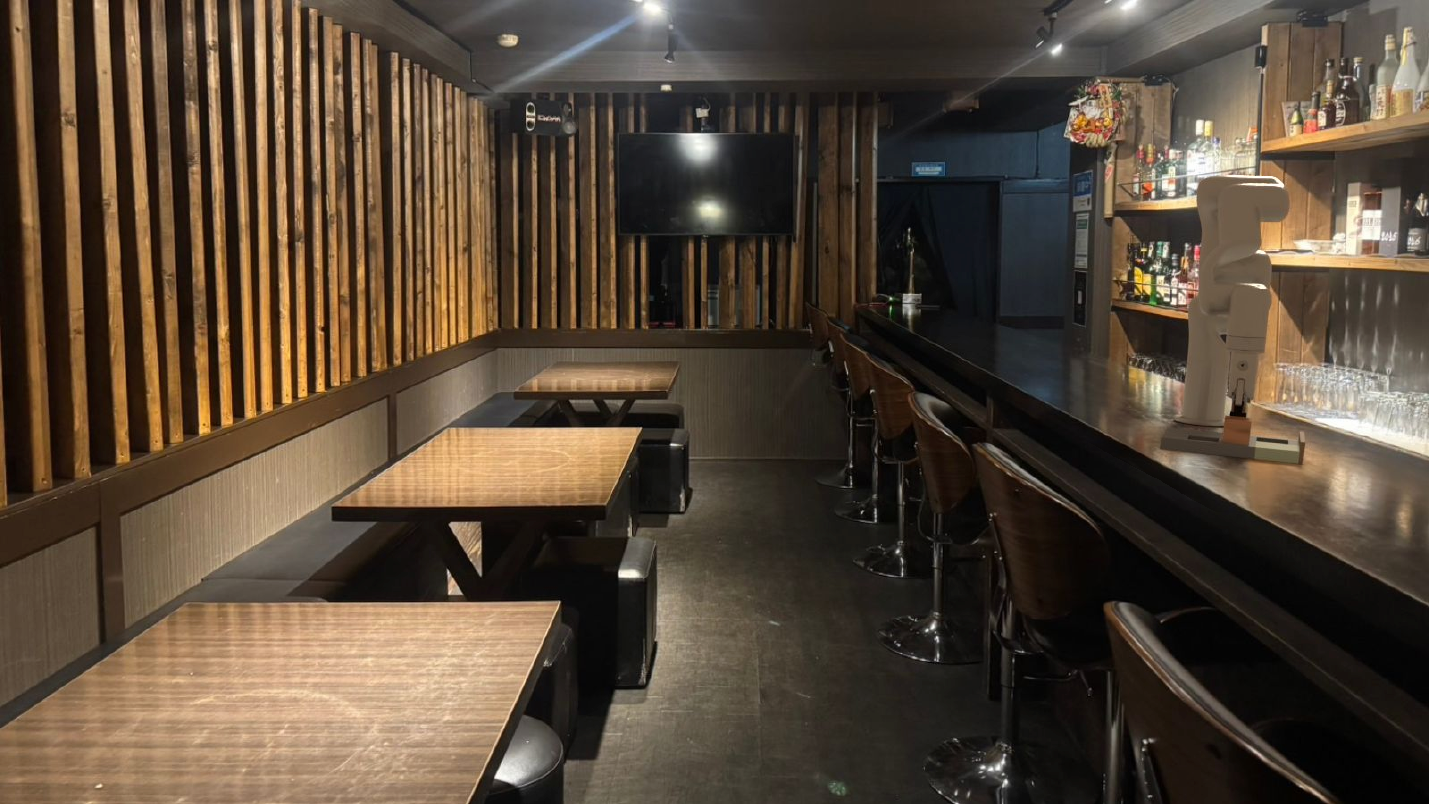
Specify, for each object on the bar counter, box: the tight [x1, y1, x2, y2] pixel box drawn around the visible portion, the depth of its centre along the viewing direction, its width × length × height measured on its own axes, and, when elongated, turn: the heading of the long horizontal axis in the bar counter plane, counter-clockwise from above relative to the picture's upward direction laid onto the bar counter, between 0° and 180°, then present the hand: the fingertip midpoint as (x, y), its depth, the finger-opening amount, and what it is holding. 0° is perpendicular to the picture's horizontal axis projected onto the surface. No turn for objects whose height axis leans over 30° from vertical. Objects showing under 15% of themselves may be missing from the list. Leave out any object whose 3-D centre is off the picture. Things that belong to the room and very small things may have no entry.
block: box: [1222, 415, 1253, 445], centre depth 231 cm, size 5×5×5 cm
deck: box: [1159, 427, 1306, 465], centre depth 235 cm, size 15×27×4 cm, turn 63°
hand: (1236, 430), depth 236 cm, fingers closed
